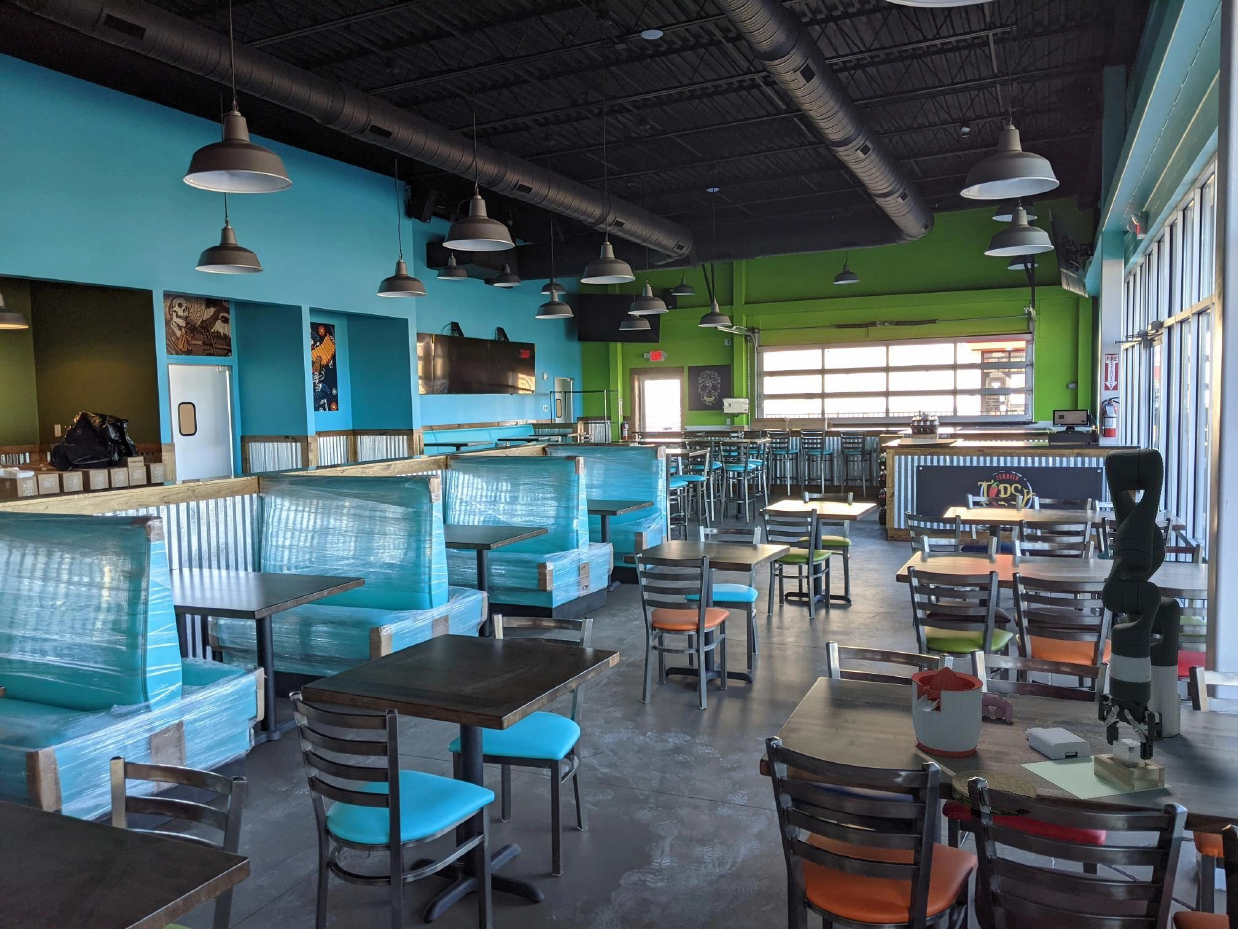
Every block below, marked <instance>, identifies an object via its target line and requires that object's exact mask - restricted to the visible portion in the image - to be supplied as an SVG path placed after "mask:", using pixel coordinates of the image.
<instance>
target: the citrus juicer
mask: <svg viewBox="0 0 1238 929" xmlns="http://www.w3.org/2000/svg"><path fill="white" fill-rule="evenodd" d="M910 679H911V682H912V686H911V687H912V689H911V690H912V692H911V693H912V696H911V697H912V701H911V702H912V703H911V704H912V706H911V708H912V710H911V713H912V714H911V715H912V724H913V730H914V734H915V737H916V741H917V744H918V747H919V748H920V749H921V750H922V751H924V752H926V753H928V754H932V755H934V756H940V757H945V758H946V757H947V758H964V757H968V756H971V755H973V754H974V753H975V751H976V749H977V747H978V742H979V740H980V735H981V729H982V720H983V719H982V718H983V715H982V695H983V686H984V682H983V680H982V679H980V678H978V677H977V676H975V675H971V674H969V673H965V672H960V671H954V670H953V669H952V668H950V667H949V666H943V668H941V669H932V670H930V669H928V670H921V671H917V672H915V673H913V674H912V675H911V677H910Z"/></svg>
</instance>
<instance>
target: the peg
mask: <svg viewBox="0 0 1238 929" xmlns="http://www.w3.org/2000/svg"><path fill="white" fill-rule="evenodd" d="M1112 746H1113V747H1112V748H1113V749H1112V750H1113V751H1112V752H1113V761H1114V762H1116V763H1118V764H1120V765H1122V766H1124V767H1126V768H1128V769H1129V768H1137V767H1144V766H1145V760H1143V759H1141V758H1140V741H1139V742H1138V741H1137V740H1134V739H1132V738H1122V739H1119V740H1114V741H1113V745H1112Z"/></svg>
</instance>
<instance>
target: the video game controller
mask: <svg viewBox="0 0 1238 929" xmlns="http://www.w3.org/2000/svg"><path fill="white" fill-rule="evenodd" d="M989 707H995V709H994V711H993V714H994V716H995V718H997V719H999V718H1001V719H1003V717H1004V716H1005V721H1006V723H1007V724H1011V722H1012V720H1013V714H1014V713H1013V712H1014V711H1013V710H1014V706H1013V703H1012V702H1011V700H1009V699H1008V698H1006V697H1004V696H1001V695H997V694H992V693H986V694H985V693H984V694H983V693H982V717H989V716H990V715H991V709H990V708H989Z"/></svg>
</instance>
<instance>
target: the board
mask: <svg viewBox="0 0 1238 929" xmlns="http://www.w3.org/2000/svg"><path fill="white" fill-rule="evenodd" d="M1096 755H1097V754H1096ZM1096 755H1094V754H1093V755H1090V756H1086V757H1078V756H1077V757H1073V758H1061V759H1053V760H1047V761H1039V762H1031V763H1023V764H1020V766H1021V767H1023V768H1025V769H1027V770H1029V771H1031V772H1032V773H1034V774H1035V775H1037V776H1039V777H1041V778H1042V779H1044V780H1047V781H1048V782H1050V783H1052V784H1053V785H1055V786H1057V787H1059V788H1061V789H1063V790H1064V791H1066V792H1068V793H1070V794H1072V795H1073V796H1075V797H1077V798H1078V799H1079V800H1087V799H1094V798H1096V799H1097V798H1102V797H1109V796H1115V795H1124V794H1133V793H1137V792H1147V791H1153V790H1154V791H1155V790H1160V789H1167V788H1173V786H1172V785H1170V784H1168V783H1164V787H1157V788H1150V789H1143V790H1135V791H1126V790H1124V789H1122V788H1120V787H1118V786H1116V785H1114V784H1112V783H1110V782H1108V781H1106V780H1104V779H1102V778H1100V777H1099V776H1097V775H1095V774H1094V756H1096ZM1101 755H1104V754H1103V753H1102V754H1101Z"/></svg>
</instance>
